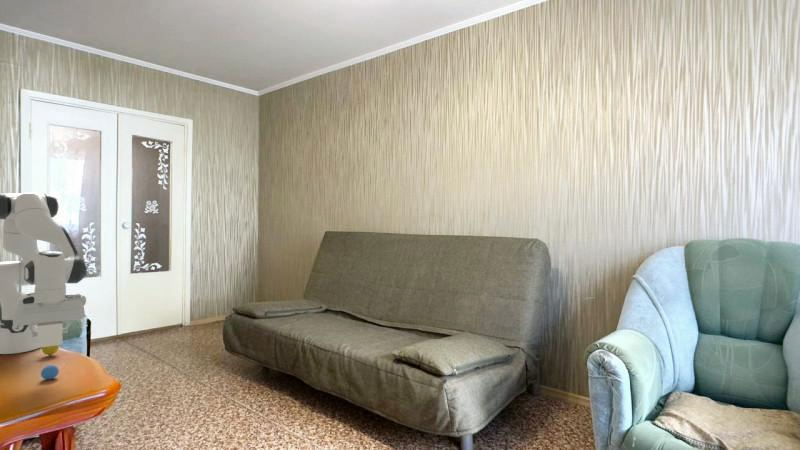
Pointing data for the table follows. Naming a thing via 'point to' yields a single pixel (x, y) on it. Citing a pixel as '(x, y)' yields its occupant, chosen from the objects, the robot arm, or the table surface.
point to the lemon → (50, 350)
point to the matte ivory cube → (49, 334)
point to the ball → (49, 372)
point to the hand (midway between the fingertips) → (50, 334)
